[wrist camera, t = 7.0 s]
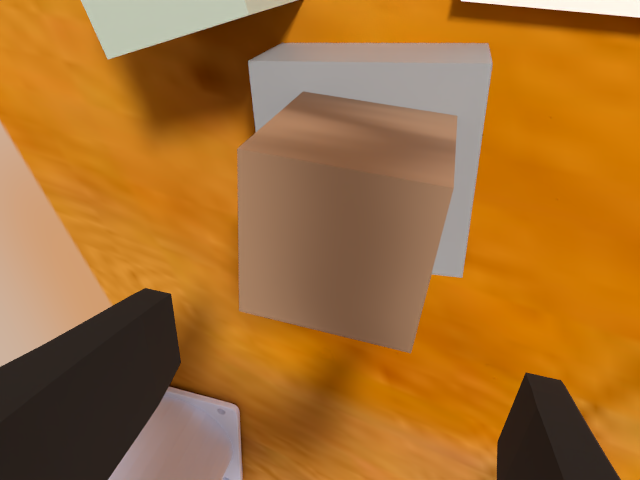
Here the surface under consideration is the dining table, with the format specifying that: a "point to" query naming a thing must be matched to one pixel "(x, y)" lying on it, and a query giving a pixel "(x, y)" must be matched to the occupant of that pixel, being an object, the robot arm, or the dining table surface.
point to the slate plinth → (392, 102)
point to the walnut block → (344, 216)
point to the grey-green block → (162, 19)
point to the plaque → (576, 5)
